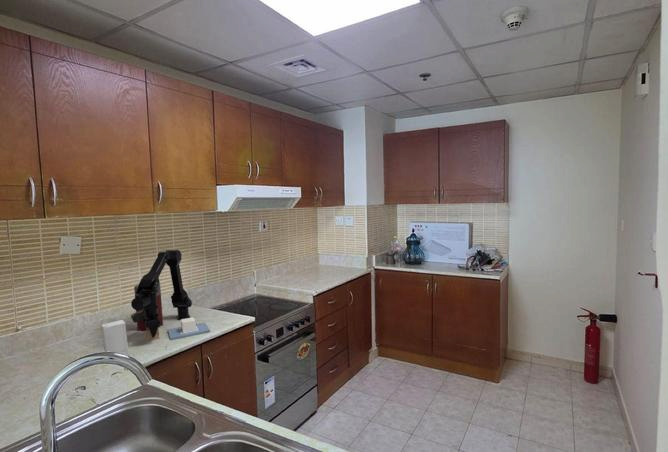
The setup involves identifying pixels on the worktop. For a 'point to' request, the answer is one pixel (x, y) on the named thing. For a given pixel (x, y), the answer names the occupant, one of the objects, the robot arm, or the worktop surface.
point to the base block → (188, 325)
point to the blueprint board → (177, 332)
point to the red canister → (142, 323)
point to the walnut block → (151, 336)
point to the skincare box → (115, 337)
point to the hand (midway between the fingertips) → (152, 335)
